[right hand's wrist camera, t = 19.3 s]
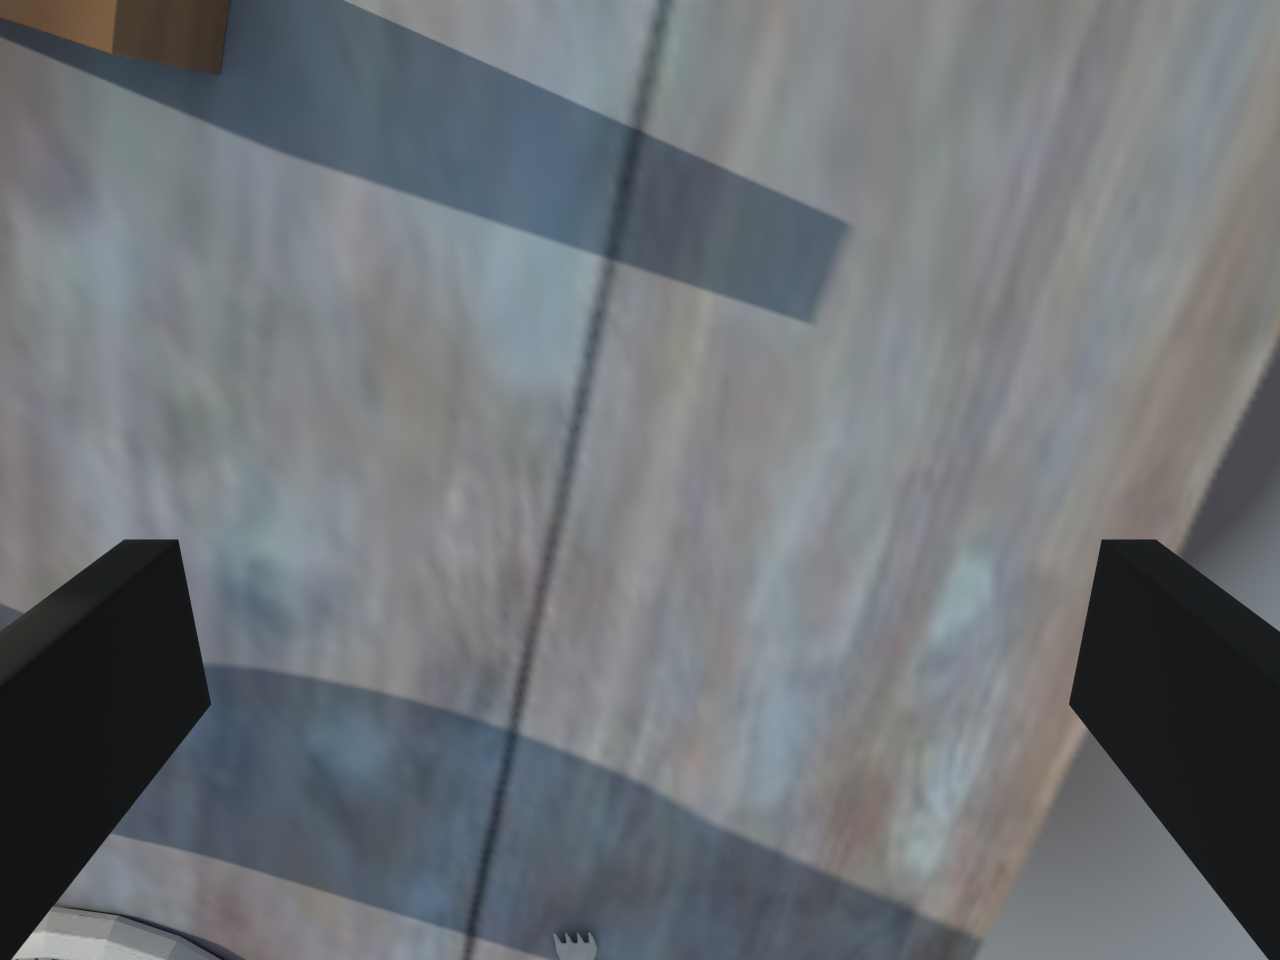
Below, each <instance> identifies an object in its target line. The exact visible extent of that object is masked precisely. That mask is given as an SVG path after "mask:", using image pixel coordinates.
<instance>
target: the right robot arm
mask: <svg viewBox="0 0 1280 960" xmlns="http://www.w3.org/2000/svg"><path fill="white" fill-rule="evenodd" d="M210 705H211V702H210V697H209V692H208V687H207V682H206V677H205V672H204V667H203V662H202V657H201V652H200V647H199V642H198V637H197V632H196V627H195V622H194V617H193V612H192V607H191V602H190V597H189V592H188V586H187V581H186V576H185V571H184V566H183V561H182V556H181V551H180V546H179V541H178V540H123V541H122V542H120V543H119V544H118V545H116V546H115V547H114V548H112V549H111V550H110V551H108V552H107V553H106V554H104V555H103V556H101V557H100V558H99V559H97V560H96V561H95V562H93V563H92V564H91V565H89V566H88V567H87V568H85V569H84V570H83V571H81V572H80V573H79V574H77V575H76V576H75V577H73V578H72V579H71V580H69V581H68V582H67V583H65V584H64V585H63V586H61V587H60V588H58V589H57V590H56V591H54V592H53V593H52V594H50V595H49V596H48V597H46V598H45V599H44V600H42V601H41V602H40V603H38V604H37V605H36V606H34V607H33V608H32V609H30V610H29V611H28V612H26V613H25V614H24V615H22V616H21V617H20V618H18V619H17V620H15V621H14V622H13V623H11V624H10V625H9V626H7V627H6V628H5V629H3V630H2V631H1V632H0V960H11V959H12V958H13V957H14V956H15V954H16V953H17V952H18V951H19V949H20V948H21V947H22V945H23V944H24V943H25V942H26V940H27V939H28V938H29V936H30V935H31V934H32V933H33V931H34V930H35V929H36V928H37V926H38V925H39V924H40V922H41V921H42V920H43V919H44V917H45V916H46V915H47V913H48V912H49V911H50V910H51V908H52V907H53V906H54V904H55V903H56V902H57V901H58V899H59V898H60V897H61V896H62V894H63V893H64V892H65V890H66V889H67V888H68V887H69V885H70V884H71V883H72V881H73V880H74V879H75V878H76V876H77V875H78V874H79V873H80V871H81V870H82V869H83V867H84V866H85V865H86V864H87V862H88V861H89V860H90V858H91V857H92V856H93V855H94V853H95V852H96V851H97V850H98V848H99V847H100V846H101V844H102V843H103V842H104V841H105V839H106V838H107V837H108V835H109V834H110V833H111V832H112V830H113V829H114V828H115V826H116V825H117V824H118V823H119V821H120V820H121V819H122V818H123V816H124V815H125V814H126V812H127V811H128V810H129V809H130V807H131V806H132V805H133V803H134V802H135V801H136V800H137V798H138V797H139V796H140V795H141V793H142V792H143V791H144V789H145V788H146V787H147V786H148V784H149V783H150V782H151V780H152V779H153V778H154V777H155V775H156V774H157V773H158V772H159V770H160V769H161V768H162V766H163V765H164V764H165V763H166V761H167V760H168V759H169V757H170V756H171V755H172V754H173V752H174V751H175V750H176V748H177V747H178V746H179V745H180V743H181V742H182V741H183V740H184V738H185V737H186V736H187V734H188V733H189V732H190V731H191V729H192V728H193V727H194V725H195V724H196V723H197V722H198V720H199V719H200V718H201V717H202V715H203V714H204V713H205V711H206V710H207V709H208V708H209V706H210ZM1069 705H1070V706H1071V708H1072V709H1073V710H1074V711H1075V713H1076V714H1077V715H1078V717H1079V718H1080V719H1081V720H1082V722H1083V723H1084V724H1085V725H1086V727H1087V728H1088V729H1089V731H1090V732H1091V733H1092V734H1093V736H1094V737H1095V738H1096V739H1097V741H1098V742H1099V743H1100V745H1101V746H1102V747H1103V748H1104V750H1105V751H1106V752H1107V754H1108V755H1109V756H1110V757H1111V759H1112V760H1113V761H1114V763H1115V764H1116V765H1117V766H1118V768H1119V769H1120V770H1121V772H1122V773H1123V774H1124V775H1125V777H1126V778H1127V779H1128V780H1129V782H1130V783H1131V784H1132V786H1133V787H1134V788H1135V789H1136V791H1137V792H1138V793H1139V794H1140V796H1141V797H1142V798H1143V800H1144V801H1145V802H1146V803H1147V805H1148V806H1149V807H1150V809H1151V810H1152V811H1153V812H1154V814H1155V815H1156V816H1157V818H1158V819H1159V820H1160V821H1161V823H1162V824H1163V825H1164V826H1165V828H1166V829H1167V830H1168V832H1169V833H1170V834H1171V835H1172V837H1173V838H1174V839H1175V841H1176V842H1177V843H1178V844H1179V846H1180V847H1181V848H1182V849H1183V851H1184V852H1185V853H1186V855H1187V856H1188V857H1189V858H1190V860H1191V861H1192V862H1193V863H1194V865H1195V866H1196V867H1197V869H1198V870H1199V871H1200V873H1201V874H1202V875H1203V876H1204V878H1205V879H1206V880H1207V881H1208V883H1209V884H1210V885H1211V887H1212V888H1213V889H1214V890H1215V892H1216V893H1217V894H1218V896H1219V897H1220V898H1221V899H1222V901H1223V902H1224V903H1225V904H1226V906H1227V907H1228V908H1229V910H1230V911H1231V912H1232V913H1233V915H1234V916H1235V917H1236V919H1237V920H1238V921H1239V922H1240V924H1241V925H1242V926H1243V928H1244V929H1245V930H1246V931H1247V933H1248V934H1249V935H1250V936H1251V938H1252V939H1253V940H1254V942H1255V943H1256V944H1257V945H1258V947H1259V948H1260V949H1261V951H1262V952H1263V953H1264V954H1265V956H1266V957H1267V958H1268V959H1269V960H1280V632H1279V631H1278V630H1277V629H1275V628H1274V627H1273V626H1271V625H1270V624H1269V623H1267V622H1266V621H1265V620H1263V619H1262V618H1260V617H1259V616H1258V615H1256V614H1255V613H1254V612H1252V611H1251V610H1250V609H1248V608H1247V607H1246V606H1244V605H1243V604H1242V603H1240V602H1239V601H1238V600H1236V599H1235V598H1234V597H1232V596H1231V595H1230V594H1228V593H1227V592H1226V591H1224V590H1223V589H1221V588H1220V587H1219V586H1217V585H1216V584H1215V583H1213V582H1212V581H1211V580H1209V579H1208V578H1207V577H1205V576H1204V575H1203V574H1201V573H1200V572H1199V571H1197V570H1196V569H1195V568H1193V567H1192V566H1191V565H1189V564H1188V563H1187V562H1185V561H1184V560H1183V559H1181V558H1180V557H1179V556H1177V555H1176V554H1174V553H1173V552H1172V551H1170V550H1169V549H1168V548H1166V547H1165V546H1164V545H1162V544H1161V543H1160V542H1158V541H1157V540H1102V541H1101V546H1100V551H1099V556H1098V561H1097V566H1096V571H1095V576H1094V581H1093V586H1092V592H1091V597H1090V602H1089V607H1088V612H1087V617H1086V622H1085V627H1084V632H1083V637H1082V642H1081V647H1080V652H1079V657H1078V662H1077V667H1076V672H1075V677H1074V682H1073V687H1072V692H1071V697H1070V702H1069Z"/></svg>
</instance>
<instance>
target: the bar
mask: <svg viewBox="0 0 1280 960" xmlns="http://www.w3.org/2000/svg"><path fill="white" fill-rule="evenodd" d="M229 3H230V0H0V18H2V19H5V20H8V21H11V22H14V23H17V24H21V25H24V26H27V27H30V28H33V29H36V30H39V31H42V32H45V33H48V34H51V35H54V36H57V37H60V38H63V39H66V40H69V41H72V42H75V43H78V44H81V45H84V46H87V47H90V48H94V49H97V50H100V51H103V52H106V53H109V54H112V55H117V56H122V57H128V58H133V59H138V60H143V61H149V62H154V63H159V64H165V65H170V66H175V67H180V68H186V69H191V70H196V71H201V72H207V73H212V74H217V75H219V74H220V68H221V61H222V54H223V46H224V39H225V32H226V24H227V17H228V10H229Z"/></svg>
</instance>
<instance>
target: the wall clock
mask: <svg viewBox="0 0 1280 960" xmlns="http://www.w3.org/2000/svg"><path fill="white" fill-rule="evenodd" d="M11 960H221V959H219V958H217V957H215V956H214V955H212V954H210V953H208V952H207V951H205V950H203V949H201V948H200V947H198V946H196V945H194V944H193V943H191V942H189V941H187V940H185V939H184V938H182V937H180V936H177V935H174V934H171V933H168V932H166V931H163V930H160V929H157V928H154V927H151V926H148V925H145V924H142V923H139V922H136V921H133V920H130V919H127V918H124V917H121V916H118V915H111V914H104V913H96V912H89V911H82V910H75V909H68V908H61V907H52V908H51V910H50V911H49V912H48V913H47V915H46V916H45V917H44V919H43V920H42V921H41V922H40V924H39V925H38V926H37V928H36V929H35V930H34V931H33V933H32V934H31V935H30V936H29V938H28V939H27V940H26V942H25V943H24V944H23V945H22V947H21V948H20V949H19V951H18V952H17V953H16V954H15V956H14V957H13V958H12V959H11Z"/></svg>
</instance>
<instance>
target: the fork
mask: <svg viewBox="0 0 1280 960" xmlns="http://www.w3.org/2000/svg"><path fill="white" fill-rule="evenodd" d="M588 935H589V942H588V943H585V942H584V941H583V939H582V937H581V936H580V934H579V933H578V932H577V939H578V942H577V943H573V942H572V940H571V938H570V937H569V936H568V934H567V933H565V936H566V943H562V942H561V941H560V939H559V938H558V936H557V935H556V934H555V933H553V936H554V939H555V946H556V952H557V954H558V956H559V958H560V960H594V959H595V956H596V953H597V945H596V943H595V941H594V938H593V936H592V935H591V933H590V932H589V933H588Z"/></svg>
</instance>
